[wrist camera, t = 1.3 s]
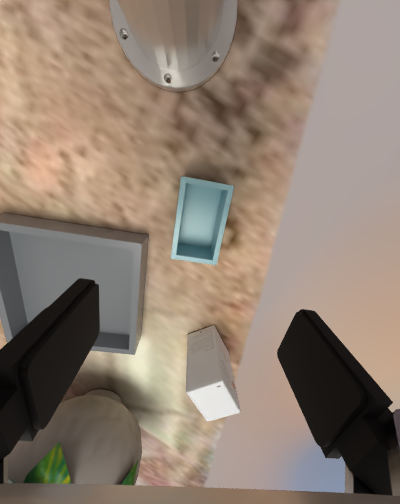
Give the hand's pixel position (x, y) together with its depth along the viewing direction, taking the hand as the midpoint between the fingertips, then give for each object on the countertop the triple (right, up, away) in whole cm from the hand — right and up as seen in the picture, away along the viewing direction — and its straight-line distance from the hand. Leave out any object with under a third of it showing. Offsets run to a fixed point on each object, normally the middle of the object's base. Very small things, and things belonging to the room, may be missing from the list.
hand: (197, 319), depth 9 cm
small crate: (0, +8, +19) cm, 20 cm away
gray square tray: (-19, -2, +22) cm, 29 cm away
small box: (+2, -14, +28) cm, 32 cm away
